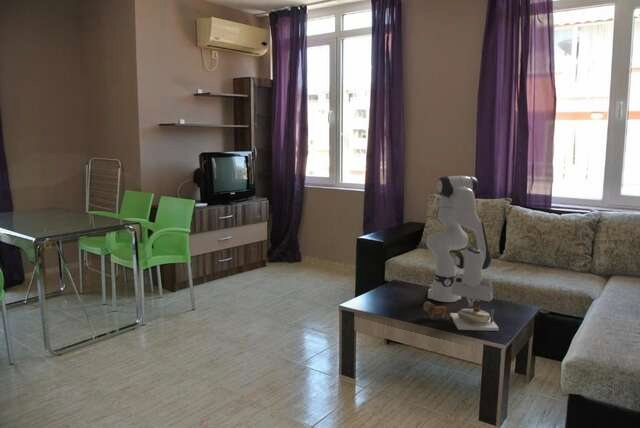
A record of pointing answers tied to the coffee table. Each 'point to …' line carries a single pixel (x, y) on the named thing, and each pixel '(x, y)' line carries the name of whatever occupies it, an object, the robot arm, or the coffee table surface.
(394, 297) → the coffee table surface
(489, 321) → the post base
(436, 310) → the lion figurine
